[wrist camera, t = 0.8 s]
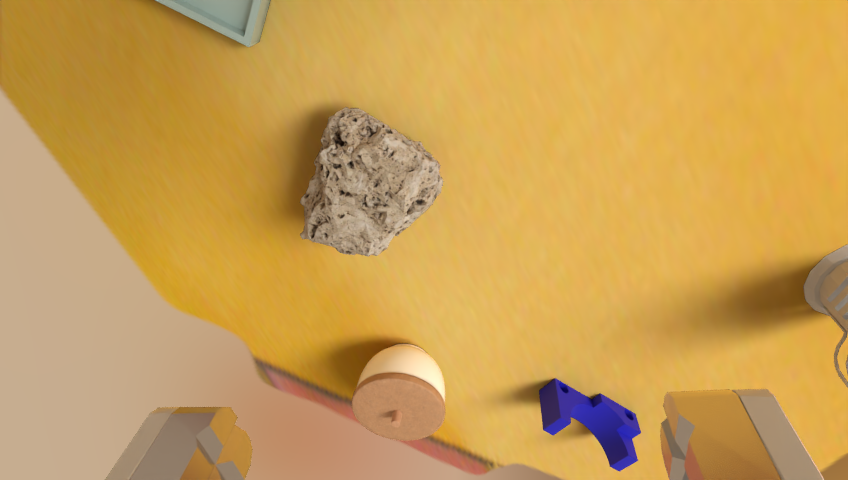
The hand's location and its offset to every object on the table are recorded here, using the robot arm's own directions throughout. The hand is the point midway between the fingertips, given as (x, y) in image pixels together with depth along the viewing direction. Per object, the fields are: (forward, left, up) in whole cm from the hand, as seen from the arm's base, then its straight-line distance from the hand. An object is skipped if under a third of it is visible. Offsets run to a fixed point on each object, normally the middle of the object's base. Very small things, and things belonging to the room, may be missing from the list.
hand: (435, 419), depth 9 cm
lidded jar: (+38, +11, -38) cm, 55 cm away
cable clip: (+32, +34, -38) cm, 61 cm away
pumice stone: (+16, -3, -38) cm, 41 cm away
